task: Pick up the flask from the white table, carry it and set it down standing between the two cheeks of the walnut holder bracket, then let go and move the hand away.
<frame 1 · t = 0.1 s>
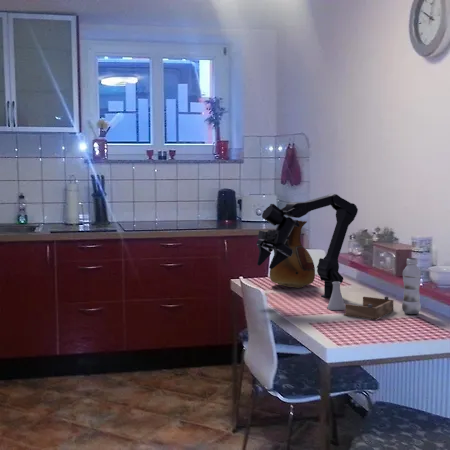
hand: (264, 266, 243), 15 cm above the table, tool tilted 35°, fingers open, 9 cm apart
holder: (369, 313, 229), on the table
flask: (336, 309, 237), on the table
ceramic pitcher: (292, 287, 280), on the table
plastic bottle: (411, 314, 227), on the table
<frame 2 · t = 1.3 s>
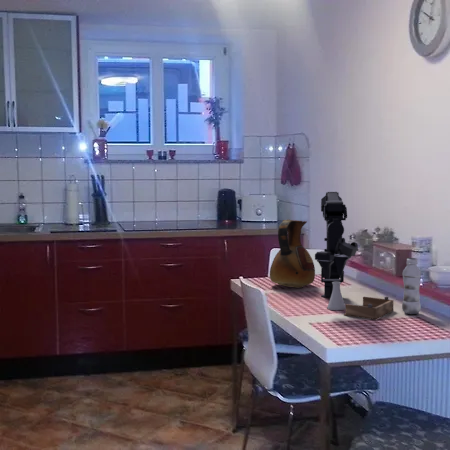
hand: (334, 277, 235), 12 cm above the table, tool pointing down, fingers open, 9 cm apart
nothing on the table moved.
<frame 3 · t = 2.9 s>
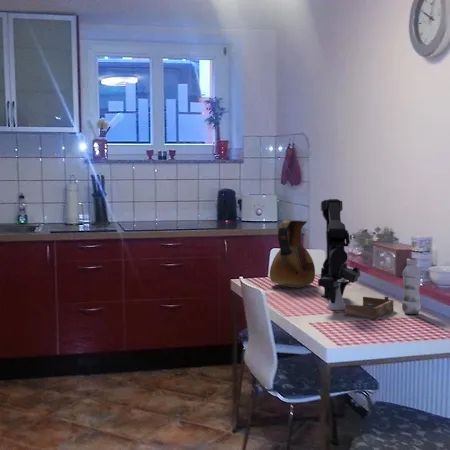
hand: (336, 301, 236), 3 cm above the table, tool pointing down, fingers closed on flask, 5 cm apart
flask: (336, 309, 237), on the table, touching gripper
everything else where it was.
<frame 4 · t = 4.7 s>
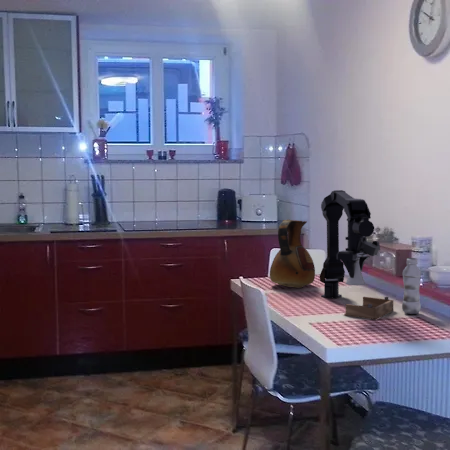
hand: (355, 276, 230), 13 cm above the table, tool pointing down, fingers closed on flask, 5 cm apart
flask: (355, 284, 231), point 10 cm above the table, touching gripper
everything else where it was.
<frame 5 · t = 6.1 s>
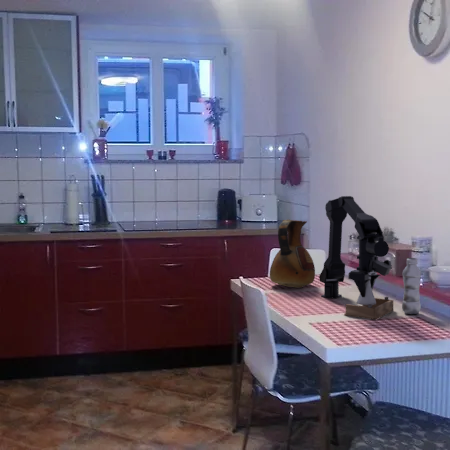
hand: (366, 295, 229), 6 cm above the table, tool pointing down, fingers closed on flask, 5 cm apart
flask: (366, 304, 229), point 3 cm above the table, touching gripper
everything else where it was.
when the fingers open (4 cm above the table, at t = 6.9 s): flask stays where it is, resting on holder.
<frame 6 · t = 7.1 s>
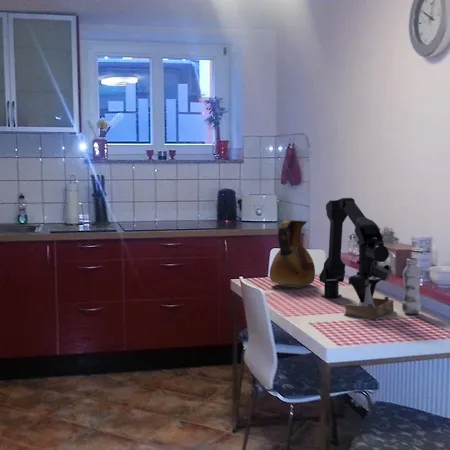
hand: (366, 300, 229), 4 cm above the table, tool pointing down, fingers open, 7 cm apart
flask: (366, 311, 230), resting on holder
everything else where it was.
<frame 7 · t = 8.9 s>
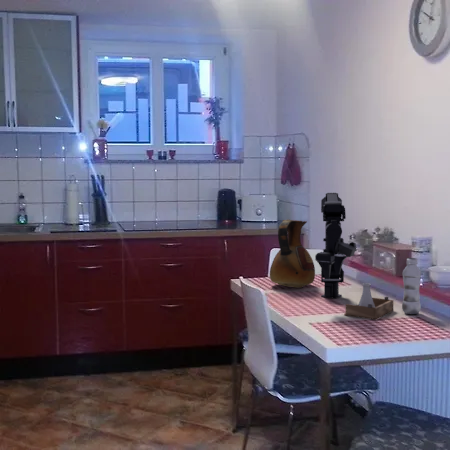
hand: (332, 276, 238), 12 cm above the table, tool pointing down, fingers open, 9 cm apart
nothing on the table moved.
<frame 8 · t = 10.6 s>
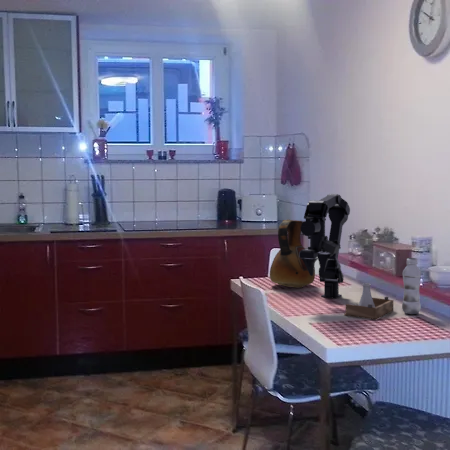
hand: (317, 273, 242), 12 cm above the table, tool pointing down, fingers open, 9 cm apart
nothing on the table moved.
at the end: flask inside the target area (0.6 cm from its centre), resting on holder; flask tilted 0°; the gripper is holding nothing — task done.
